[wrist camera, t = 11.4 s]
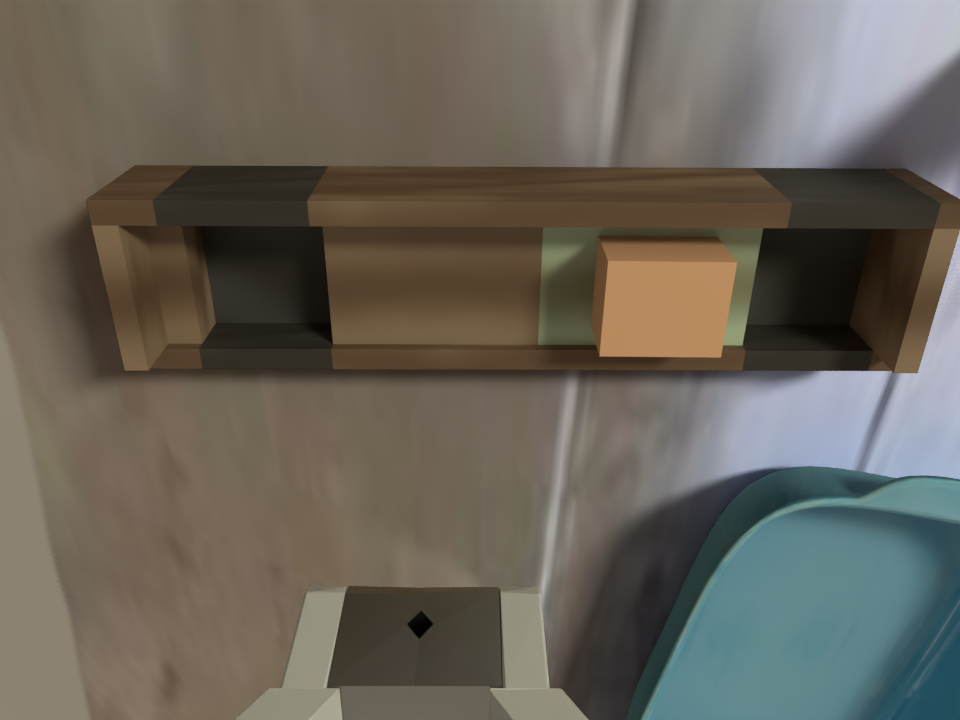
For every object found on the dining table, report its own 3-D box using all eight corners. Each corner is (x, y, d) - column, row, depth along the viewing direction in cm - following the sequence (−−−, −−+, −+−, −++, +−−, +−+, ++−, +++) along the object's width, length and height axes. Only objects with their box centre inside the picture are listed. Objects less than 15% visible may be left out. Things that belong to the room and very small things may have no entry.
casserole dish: (829, 805, 68) (865, 896, 62) (570, 771, 66) (580, 861, 59) (1067, 445, 51) (1151, 519, 45) (728, 382, 49) (766, 450, 42)
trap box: (134, 165, 42) (85, 199, 37) (906, 168, 42) (967, 203, 37) (168, 338, 47) (129, 391, 42) (862, 340, 47) (911, 393, 42)
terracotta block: (598, 235, 41) (608, 261, 38) (717, 236, 41) (737, 262, 38) (590, 325, 43) (599, 356, 40) (703, 326, 43) (721, 357, 40)
